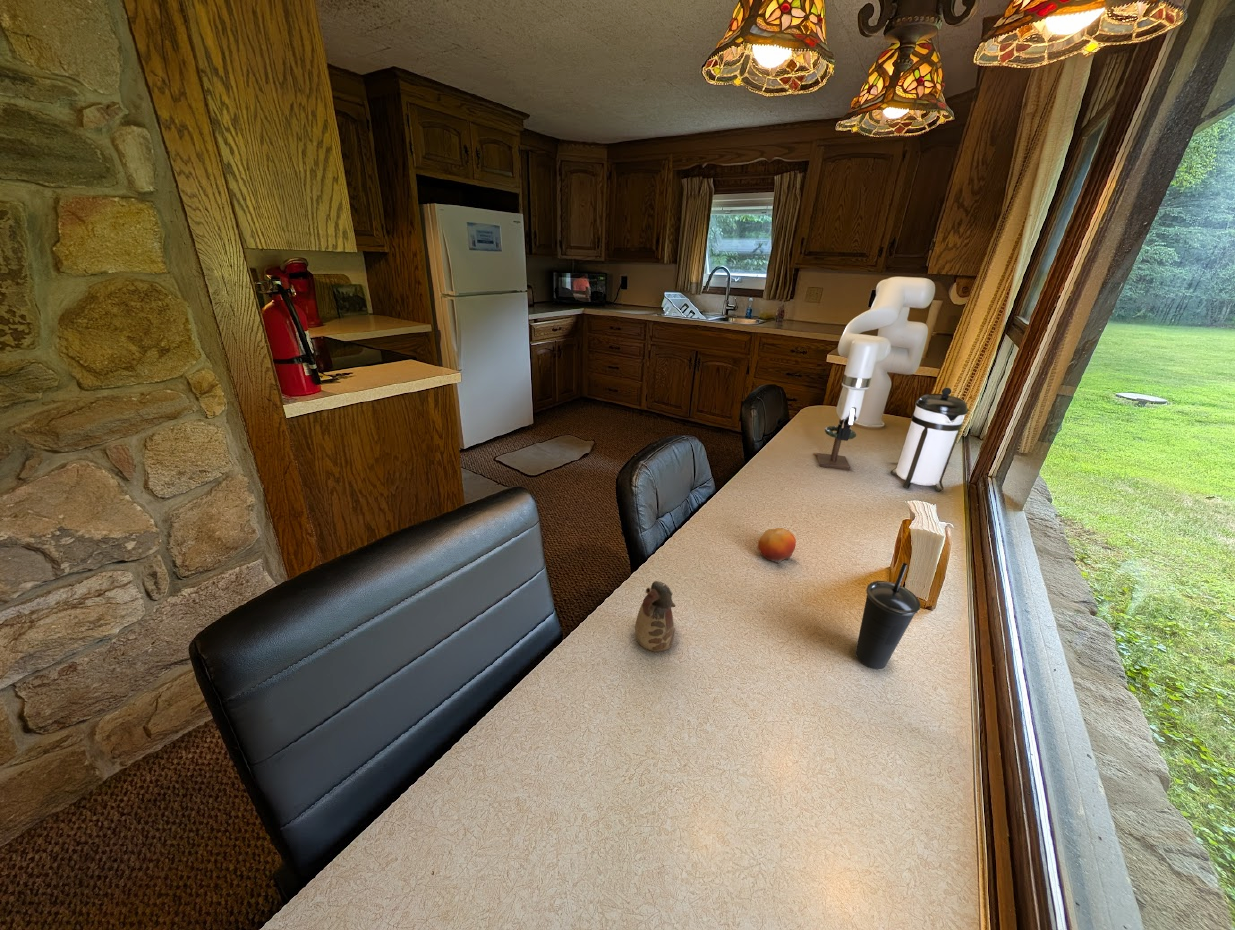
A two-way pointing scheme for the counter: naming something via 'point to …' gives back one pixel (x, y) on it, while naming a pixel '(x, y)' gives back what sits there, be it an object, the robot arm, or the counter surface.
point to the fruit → (777, 544)
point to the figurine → (656, 618)
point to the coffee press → (931, 439)
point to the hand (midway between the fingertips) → (841, 437)
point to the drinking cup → (885, 620)
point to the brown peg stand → (833, 458)
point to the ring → (835, 435)
